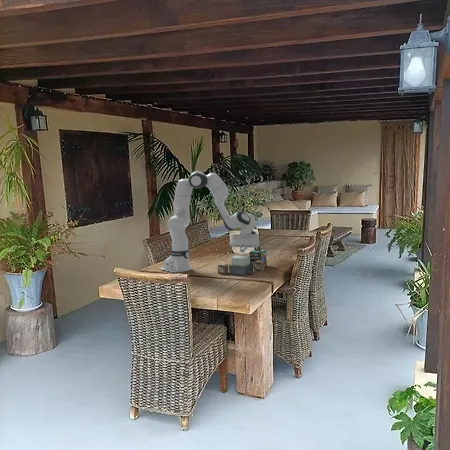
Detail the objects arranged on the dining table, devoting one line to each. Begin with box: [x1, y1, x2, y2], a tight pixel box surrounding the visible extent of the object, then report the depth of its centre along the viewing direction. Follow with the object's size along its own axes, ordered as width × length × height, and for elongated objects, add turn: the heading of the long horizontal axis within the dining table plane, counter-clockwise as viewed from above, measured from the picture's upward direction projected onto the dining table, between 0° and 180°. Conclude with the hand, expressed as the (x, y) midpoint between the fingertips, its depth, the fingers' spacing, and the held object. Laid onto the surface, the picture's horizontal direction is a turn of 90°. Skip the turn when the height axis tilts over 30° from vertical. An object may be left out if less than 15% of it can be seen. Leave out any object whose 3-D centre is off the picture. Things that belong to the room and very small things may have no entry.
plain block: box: [230, 254, 250, 266], centre depth 292 cm, size 9×9×8 cm
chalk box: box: [249, 246, 268, 269], centre depth 307 cm, size 9×9×15 cm
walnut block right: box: [253, 261, 265, 272], centre depth 297 cm, size 5×5×6 cm
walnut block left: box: [217, 263, 229, 275], centre depth 293 cm, size 5×5×6 cm
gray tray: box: [228, 263, 254, 277], centre depth 292 cm, size 12×12×6 cm
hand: (242, 251), depth 294 cm, fingers closed
